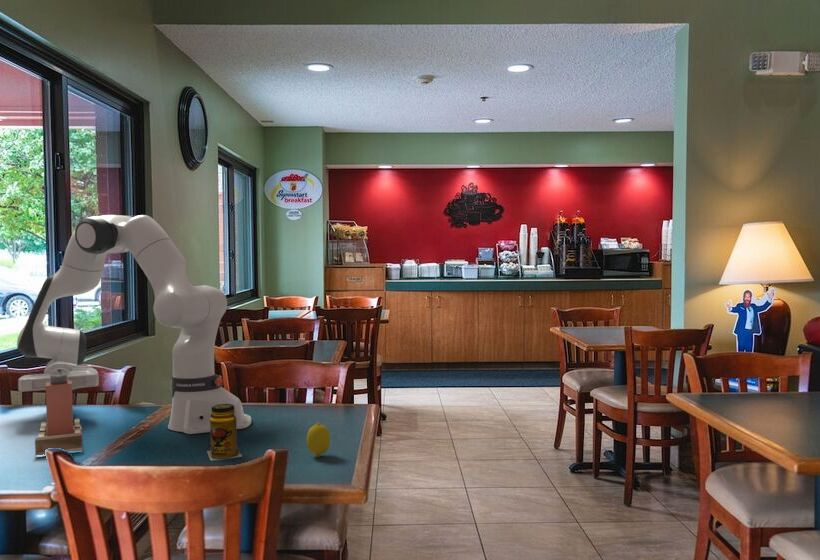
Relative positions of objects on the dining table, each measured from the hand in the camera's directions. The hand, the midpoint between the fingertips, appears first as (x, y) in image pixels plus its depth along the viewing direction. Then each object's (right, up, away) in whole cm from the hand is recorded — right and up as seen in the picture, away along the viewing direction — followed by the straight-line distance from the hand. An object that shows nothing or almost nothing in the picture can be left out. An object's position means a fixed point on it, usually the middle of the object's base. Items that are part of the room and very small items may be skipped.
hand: (59, 385), depth 187 cm
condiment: (+52, -13, -24) cm, 58 cm away
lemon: (+75, -13, -26) cm, 80 cm away
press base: (+7, -13, -12) cm, 19 cm away
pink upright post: (+4, -11, -7) cm, 14 cm away
